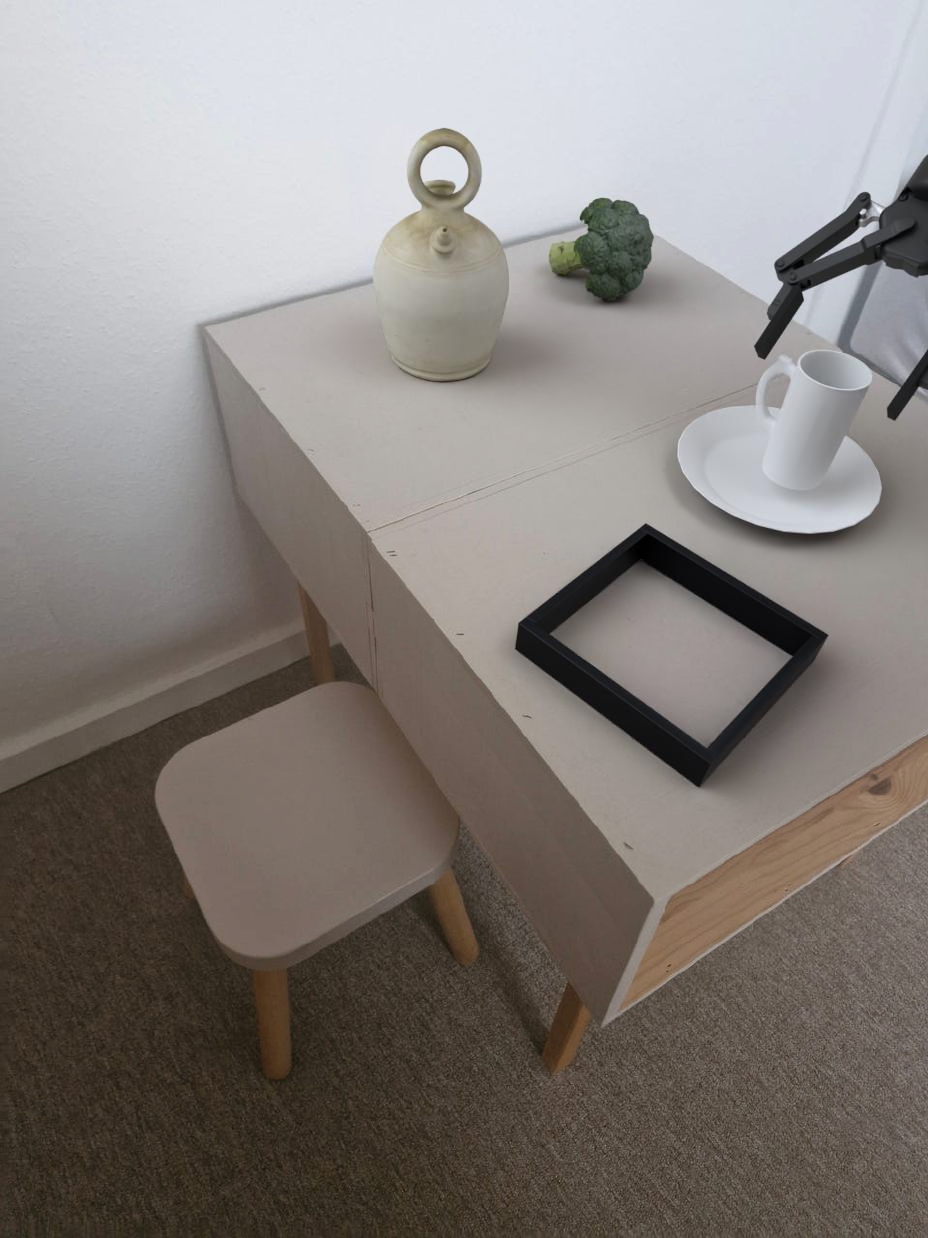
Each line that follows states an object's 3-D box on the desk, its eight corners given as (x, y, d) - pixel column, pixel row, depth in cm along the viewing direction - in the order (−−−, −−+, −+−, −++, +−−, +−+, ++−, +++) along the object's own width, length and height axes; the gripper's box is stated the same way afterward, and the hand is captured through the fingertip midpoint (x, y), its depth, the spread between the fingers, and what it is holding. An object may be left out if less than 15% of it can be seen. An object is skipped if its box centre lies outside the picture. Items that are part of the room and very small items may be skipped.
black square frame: (814, 660, 74) (829, 634, 71) (698, 788, 65) (710, 764, 62) (638, 549, 82) (645, 522, 79) (514, 649, 73) (518, 622, 70)
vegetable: (582, 232, 122) (678, 211, 112) (572, 321, 122) (666, 308, 113) (534, 196, 113) (634, 170, 103) (522, 292, 113) (621, 275, 104)
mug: (838, 475, 87) (887, 373, 78) (801, 502, 84) (847, 398, 75) (758, 428, 92) (795, 327, 83) (720, 452, 89) (754, 349, 80)
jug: (399, 312, 109) (396, 94, 90) (515, 334, 107) (537, 115, 88) (357, 375, 99) (344, 145, 81) (484, 400, 97) (502, 170, 78)
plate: (913, 497, 89) (922, 480, 87) (787, 579, 80) (795, 562, 78) (758, 401, 99) (764, 384, 98) (632, 464, 90) (636, 447, 89)
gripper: (1103, 241, 73) (950, 454, 77) (840, 154, 84) (717, 344, 88) (1123, 194, 66) (954, 429, 70) (835, 106, 77) (702, 314, 81)
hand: (822, 383), depth 79 cm, fingers open, 13 cm apart
